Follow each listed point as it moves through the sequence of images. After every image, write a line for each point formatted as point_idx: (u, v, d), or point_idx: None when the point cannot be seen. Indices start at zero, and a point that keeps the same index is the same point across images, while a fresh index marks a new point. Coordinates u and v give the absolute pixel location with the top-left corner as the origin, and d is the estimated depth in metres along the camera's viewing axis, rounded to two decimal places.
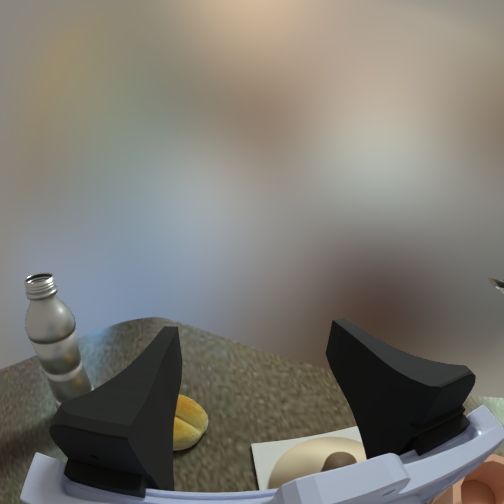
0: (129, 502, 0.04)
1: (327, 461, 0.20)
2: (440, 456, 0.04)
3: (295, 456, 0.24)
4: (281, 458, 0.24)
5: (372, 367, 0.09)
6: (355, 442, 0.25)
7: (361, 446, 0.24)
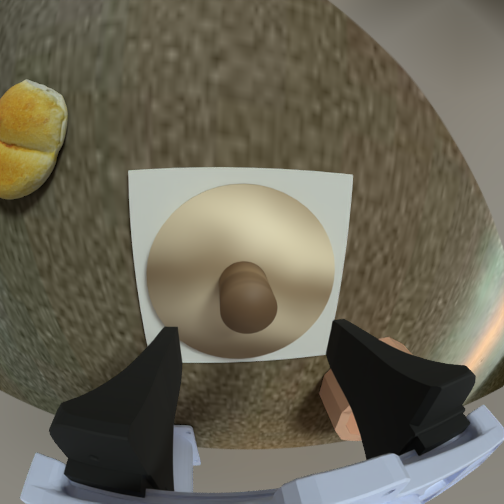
0: (129, 502, 0.04)
1: (227, 300, 0.15)
2: (440, 456, 0.04)
3: (194, 221, 0.17)
4: (169, 221, 0.17)
5: (372, 367, 0.09)
6: (312, 219, 0.18)
7: (317, 233, 0.18)
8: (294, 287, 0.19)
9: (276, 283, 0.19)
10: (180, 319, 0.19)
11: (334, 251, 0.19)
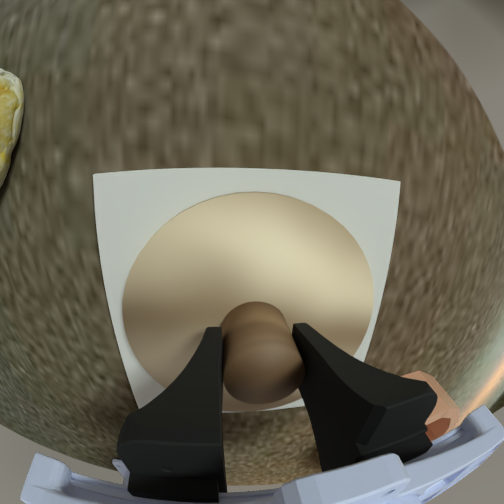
0: (129, 502, 0.04)
1: (233, 368, 0.10)
2: (440, 456, 0.04)
3: (184, 247, 0.12)
4: (149, 247, 0.11)
5: (324, 376, 0.09)
6: (350, 243, 0.12)
7: (355, 260, 0.13)
8: (321, 331, 0.14)
9: None
10: (171, 371, 0.14)
11: None
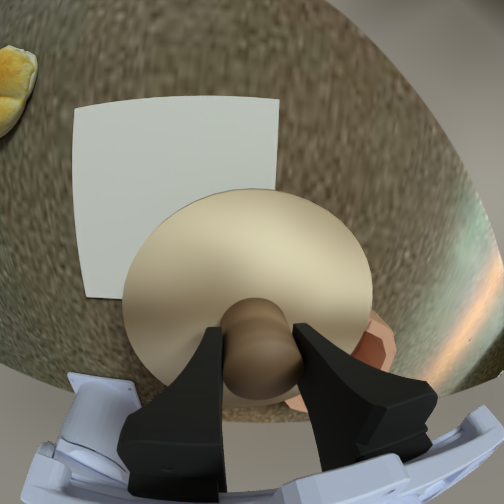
0: (129, 502, 0.04)
1: (232, 365, 0.10)
2: (440, 456, 0.04)
3: (182, 245, 0.12)
4: (146, 246, 0.11)
5: (324, 376, 0.09)
6: (347, 237, 0.12)
7: (353, 255, 0.13)
8: (320, 326, 0.14)
9: None
10: (172, 368, 0.14)
11: (262, 175, 0.19)
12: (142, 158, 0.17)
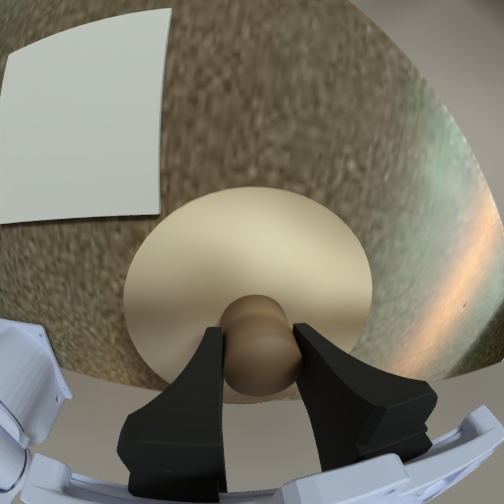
0: (129, 502, 0.04)
1: (232, 362, 0.10)
2: (440, 456, 0.04)
3: (179, 245, 0.12)
4: (145, 247, 0.12)
5: (324, 376, 0.09)
6: (344, 232, 0.12)
7: (351, 249, 0.13)
8: (321, 321, 0.14)
9: (297, 318, 0.14)
10: (175, 367, 0.14)
11: (149, 74, 0.14)
12: (48, 80, 0.13)
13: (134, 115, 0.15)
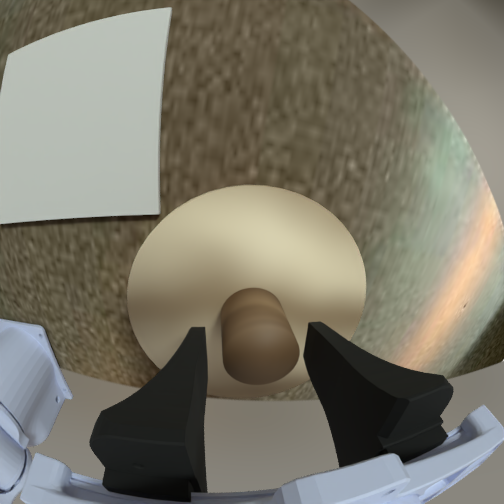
0: (129, 502, 0.04)
1: (231, 349, 0.10)
2: (440, 456, 0.04)
3: (181, 240, 0.12)
4: (149, 242, 0.12)
5: (343, 373, 0.09)
6: (337, 227, 0.13)
7: (344, 244, 0.13)
8: (317, 314, 0.15)
9: (294, 311, 0.14)
10: None
11: (148, 73, 0.14)
12: (47, 80, 0.13)
13: (134, 115, 0.15)
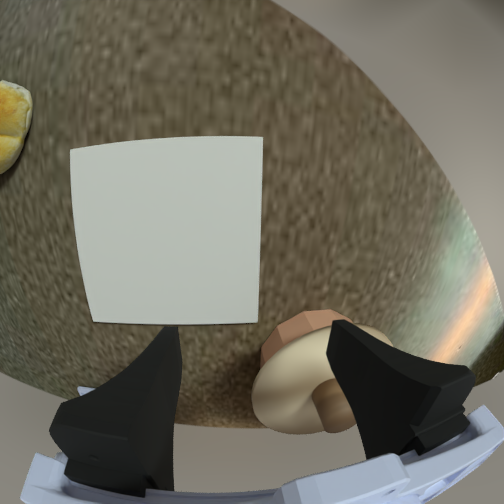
0: (129, 502, 0.04)
1: (330, 420, 0.17)
2: (440, 456, 0.04)
3: (297, 361, 0.19)
4: (275, 364, 0.19)
5: (372, 367, 0.09)
6: (385, 341, 0.19)
7: None
8: None
9: None
10: (277, 419, 0.21)
11: (248, 212, 0.20)
12: (136, 198, 0.19)
13: (237, 249, 0.21)
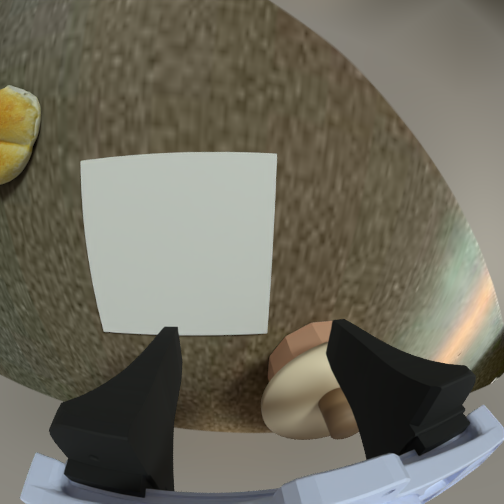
0: (129, 502, 0.04)
1: (337, 427, 0.17)
2: (440, 456, 0.04)
3: (306, 372, 0.19)
4: (286, 375, 0.19)
5: (372, 367, 0.09)
6: None
7: None
8: None
9: None
10: (285, 426, 0.21)
11: (261, 228, 0.21)
12: (149, 213, 0.19)
13: (250, 264, 0.22)
